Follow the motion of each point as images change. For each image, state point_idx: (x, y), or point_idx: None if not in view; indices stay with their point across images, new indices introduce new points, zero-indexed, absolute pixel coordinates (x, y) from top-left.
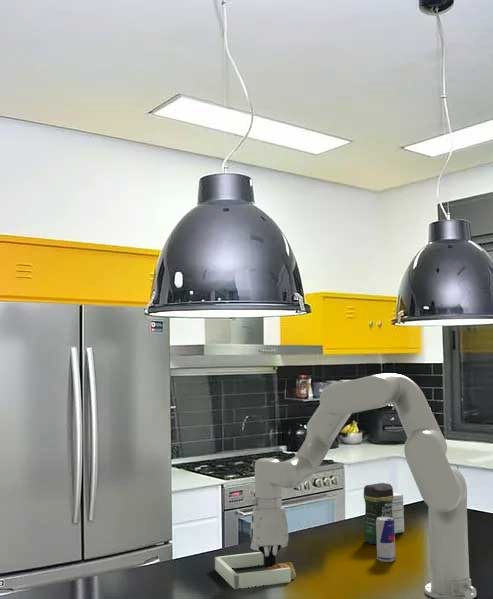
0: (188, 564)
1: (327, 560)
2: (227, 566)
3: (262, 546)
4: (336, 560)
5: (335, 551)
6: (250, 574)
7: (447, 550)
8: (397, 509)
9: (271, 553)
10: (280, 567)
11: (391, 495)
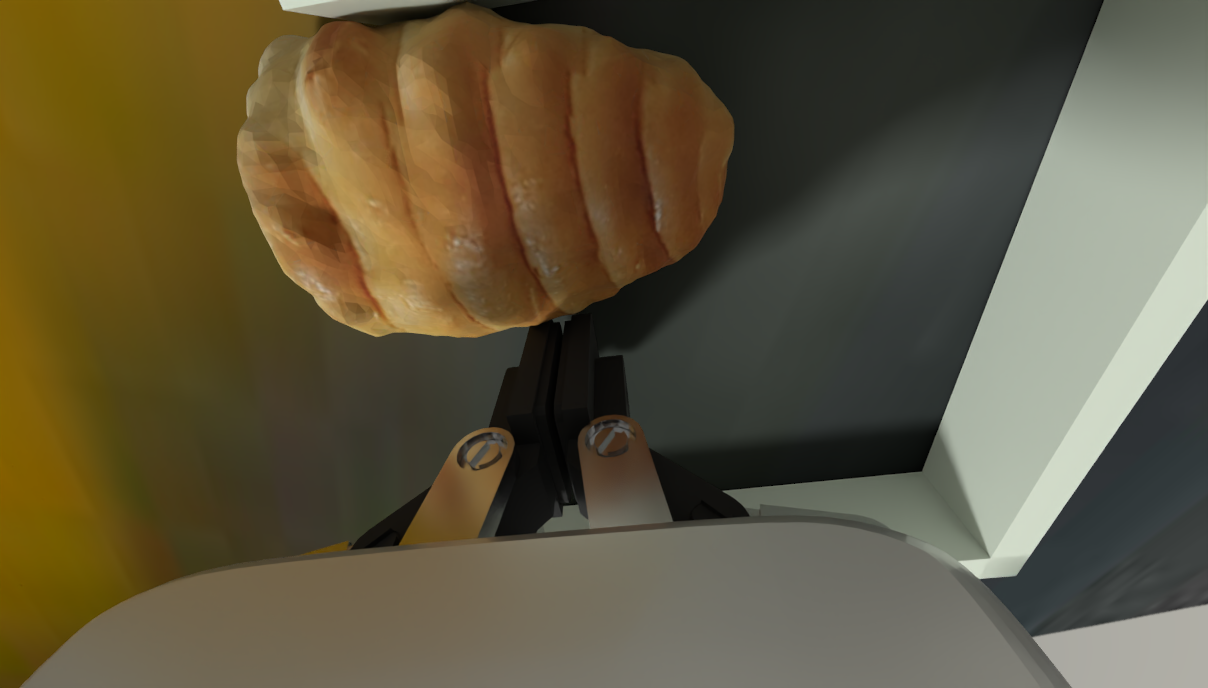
0: (1022, 580)
1: (91, 501)
2: (1160, 316)
3: (750, 518)
4: (13, 490)
5: (93, 610)
6: None
7: None
8: None
9: (533, 464)
10: (449, 104)
11: None
